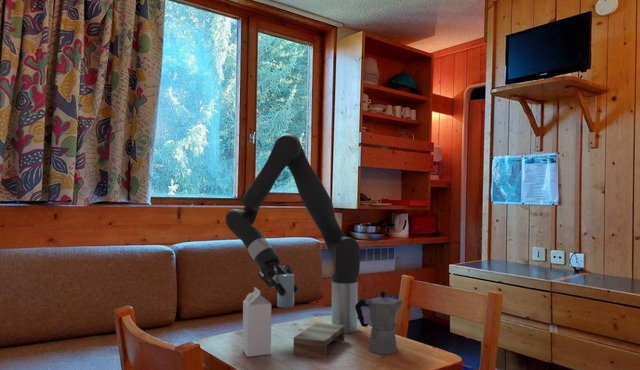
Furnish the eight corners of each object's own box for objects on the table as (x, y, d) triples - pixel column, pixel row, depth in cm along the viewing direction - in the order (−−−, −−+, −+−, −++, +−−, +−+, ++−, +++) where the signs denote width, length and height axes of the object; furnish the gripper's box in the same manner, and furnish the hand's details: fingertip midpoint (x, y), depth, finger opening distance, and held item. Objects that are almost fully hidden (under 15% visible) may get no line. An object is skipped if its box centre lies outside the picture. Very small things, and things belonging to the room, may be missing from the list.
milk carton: (265, 348, 143) (265, 286, 144) (270, 354, 136) (271, 290, 137) (242, 350, 140) (243, 287, 141) (247, 357, 134) (248, 291, 135)
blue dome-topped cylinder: (281, 303, 154) (281, 273, 155) (296, 304, 152) (296, 274, 153) (274, 306, 149) (274, 275, 150) (289, 307, 147) (289, 276, 148)
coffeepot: (397, 344, 147) (397, 287, 148) (408, 353, 138) (408, 293, 139) (351, 347, 144) (351, 289, 145) (359, 356, 135) (359, 294, 136)
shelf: (316, 337, 154) (316, 322, 155) (344, 340, 151) (344, 325, 151) (293, 354, 137) (293, 337, 137) (324, 358, 133) (325, 341, 133)
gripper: (254, 248, 150) (282, 289, 143) (282, 245, 162) (309, 282, 154) (242, 263, 153) (269, 304, 146) (271, 259, 165) (297, 296, 157)
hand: (289, 293), depth 150 cm, fingers closed on blue dome-topped cylinder, 5 cm apart
